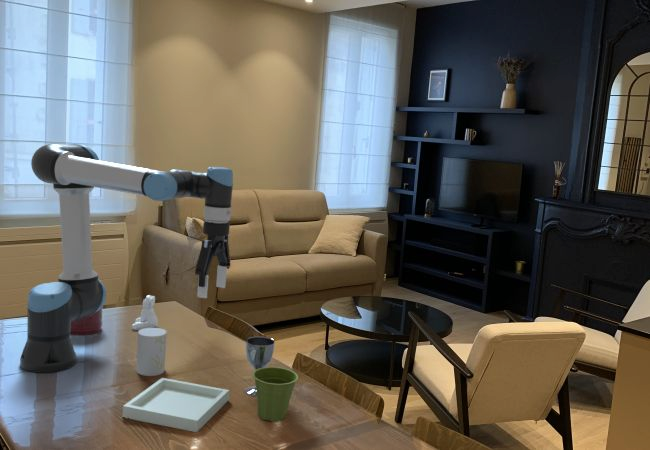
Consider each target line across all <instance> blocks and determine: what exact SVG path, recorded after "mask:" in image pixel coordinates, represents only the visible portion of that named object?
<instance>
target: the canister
mask: <svg viewBox="0 0 650 450" xmlns="http://www.w3.org/2000/svg"><path fill="white" fill-rule="evenodd" d="M103 308H104V305H103V306H102V308H101V309H100V310H99V311H97V312H95V313H94V314H92V315H91V316H88V317H84V318H81V319H79V320H76V321H74V322H71V330H70V335H75V336H85V335H92V334H96V333H98V332H101V330H102V329H103V328H102V327H103Z"/></svg>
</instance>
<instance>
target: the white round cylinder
mask: <svg viewBox="0 0 650 450" xmlns="http://www.w3.org/2000/svg"><path fill="white" fill-rule="evenodd" d="M137 331H138V332H137V348H136V351H137V352H136V373H137V374H138V375H140V376H147V377H154V376H161V374H163V373H164V372H165V370H166V353H167V352H166V349H167V334H168V333H167V330H166V329H164V328H160V327H154V328H144V329H141V330H137Z"/></svg>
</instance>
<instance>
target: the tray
mask: <svg viewBox="0 0 650 450" xmlns="http://www.w3.org/2000/svg"><path fill="white" fill-rule="evenodd" d="M229 394H230V390H229V389H226V388H221V387H220V388H219V387H214V386H208V385H204V384H200V383H199V384H198V383H194V382H193V383H192V382H187V381H182V380H181V381H180V380H178V379H177V380H176V379H171V378H165V377H161V378H160V379H158V380H157V381H155V382H154V383H153V384H151V385H150V386H148V387H147V388H146V389H144V390H143V391H141V393H139V394H138V395H136V396H135V397H133V398H132V399H131V400H129V401H128V402H126V403H125V404H123V405H122V418H123V417H125V418H124V419H128V418H129V420H134V421H137V422H144V423H149V424H154V425H159V426H164V427H169V428H174V429H178V430H184V431H189V432H193V433H198V432H199V431H200V430H201V428H202V427H204V425H206V423H208V421H210V419H212V417H213V416H215V414H217V413H218V411H220V409H222V407H224V405H226V404H227V403H228V402H229V396H230V395H229Z"/></svg>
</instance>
